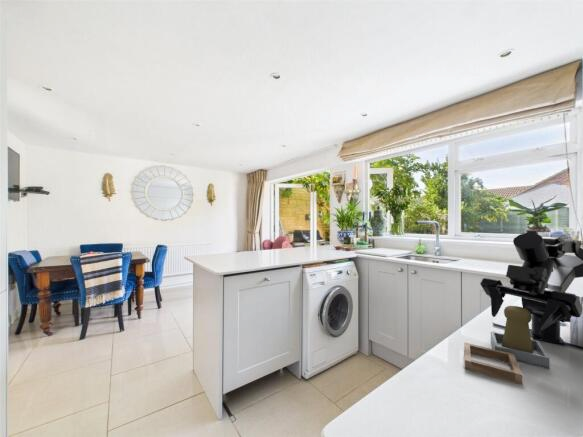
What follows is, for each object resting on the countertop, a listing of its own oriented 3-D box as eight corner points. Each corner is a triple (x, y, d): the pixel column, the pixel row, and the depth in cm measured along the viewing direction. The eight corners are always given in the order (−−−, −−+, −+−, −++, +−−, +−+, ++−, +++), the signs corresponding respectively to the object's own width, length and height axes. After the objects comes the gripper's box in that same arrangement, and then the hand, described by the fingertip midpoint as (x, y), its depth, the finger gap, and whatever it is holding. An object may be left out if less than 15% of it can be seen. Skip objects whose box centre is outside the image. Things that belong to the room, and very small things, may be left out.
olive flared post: (540, 358, 60) (540, 312, 60) (511, 356, 61) (511, 310, 61) (522, 346, 66) (523, 304, 65) (496, 343, 67) (496, 302, 67)
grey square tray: (490, 340, 70) (490, 331, 70) (538, 350, 64) (538, 340, 64) (494, 356, 62) (494, 345, 62) (549, 369, 56) (549, 358, 56)
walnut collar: (464, 350, 64) (464, 342, 64) (513, 362, 59) (513, 353, 59) (465, 368, 56) (465, 360, 56) (522, 384, 51) (522, 375, 51)
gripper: (483, 249, 73) (461, 292, 68) (578, 259, 56) (558, 317, 51) (497, 273, 77) (477, 316, 72) (590, 289, 60) (572, 346, 55)
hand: (514, 322), depth 62 cm, fingers open, 9 cm apart
